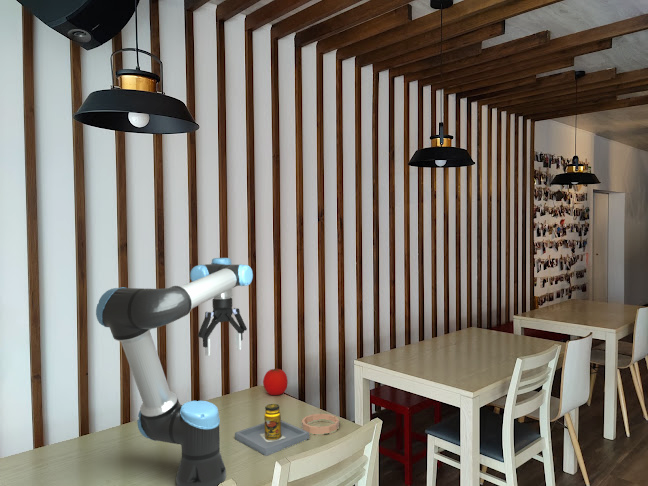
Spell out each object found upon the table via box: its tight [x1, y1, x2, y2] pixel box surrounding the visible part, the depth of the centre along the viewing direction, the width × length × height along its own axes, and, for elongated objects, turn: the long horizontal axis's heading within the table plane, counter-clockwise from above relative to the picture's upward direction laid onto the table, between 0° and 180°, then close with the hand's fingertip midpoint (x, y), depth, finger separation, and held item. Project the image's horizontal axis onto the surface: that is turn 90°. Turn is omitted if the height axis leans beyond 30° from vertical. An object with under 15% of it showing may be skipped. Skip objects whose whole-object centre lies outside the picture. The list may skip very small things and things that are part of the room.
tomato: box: [262, 368, 288, 396], centre depth 233 cm, size 12×12×13 cm
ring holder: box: [301, 413, 340, 434], centre depth 191 cm, size 14×14×3 cm
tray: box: [234, 419, 310, 457], centre depth 181 cm, size 20×20×2 cm
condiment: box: [259, 403, 285, 442], centre depth 181 cm, size 7×8×12 cm
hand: (223, 352), depth 186 cm, fingers open, 13 cm apart
